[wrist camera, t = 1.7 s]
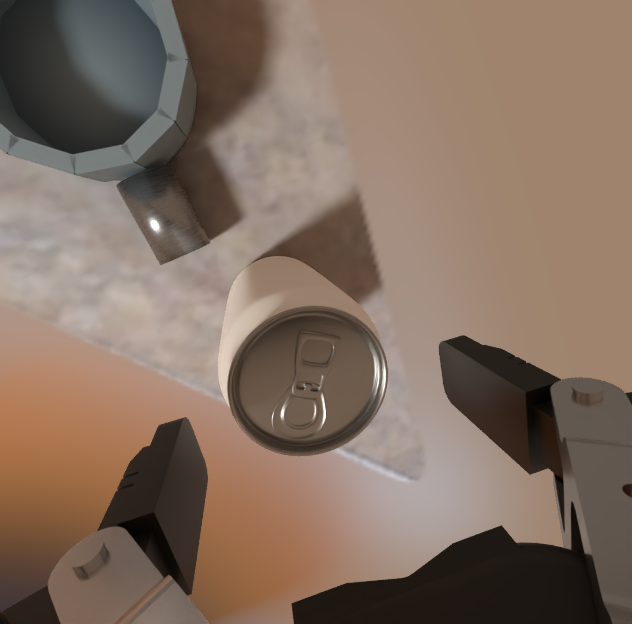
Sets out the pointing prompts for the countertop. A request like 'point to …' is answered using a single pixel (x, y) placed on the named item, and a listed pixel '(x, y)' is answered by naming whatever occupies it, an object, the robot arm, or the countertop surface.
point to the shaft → (163, 212)
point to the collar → (94, 85)
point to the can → (298, 359)
